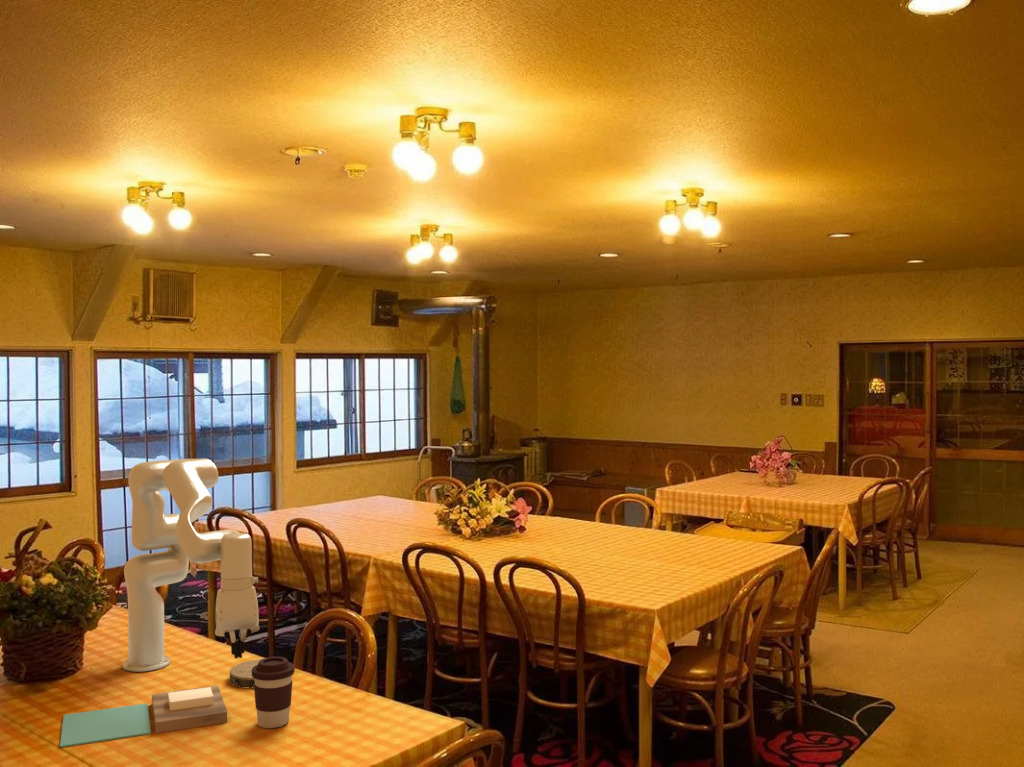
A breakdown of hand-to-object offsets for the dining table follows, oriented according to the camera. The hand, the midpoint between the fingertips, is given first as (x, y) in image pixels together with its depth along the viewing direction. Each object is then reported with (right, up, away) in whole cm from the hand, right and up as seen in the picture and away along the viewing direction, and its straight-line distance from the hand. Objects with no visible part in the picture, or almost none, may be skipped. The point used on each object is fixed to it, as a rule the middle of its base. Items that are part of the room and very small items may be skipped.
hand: (237, 656), depth 228 cm
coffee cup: (+12, -13, -11) cm, 20 cm away
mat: (-28, -13, -12) cm, 33 cm away
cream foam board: (-10, -10, -4) cm, 15 cm away
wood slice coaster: (0, -13, +21) cm, 25 cm away
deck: (-11, -13, -4) cm, 17 cm away
